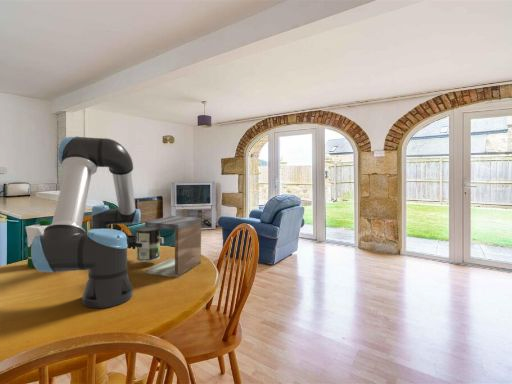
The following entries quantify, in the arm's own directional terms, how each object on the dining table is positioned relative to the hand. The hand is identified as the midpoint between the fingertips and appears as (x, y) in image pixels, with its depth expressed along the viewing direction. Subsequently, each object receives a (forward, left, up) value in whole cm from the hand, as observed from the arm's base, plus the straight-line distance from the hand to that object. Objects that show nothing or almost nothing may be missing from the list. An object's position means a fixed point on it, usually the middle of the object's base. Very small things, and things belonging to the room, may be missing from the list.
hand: (156, 242), depth 131 cm
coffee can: (+3, +3, -8) cm, 9 cm away
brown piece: (-8, -7, -10) cm, 15 cm away
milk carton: (+20, +46, -11) cm, 52 cm away
